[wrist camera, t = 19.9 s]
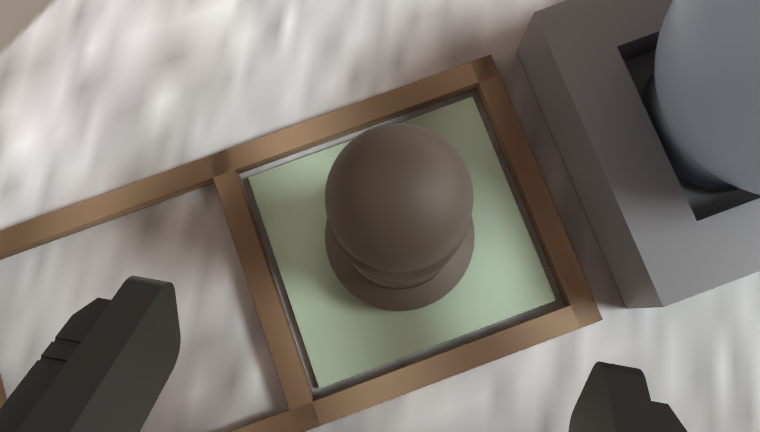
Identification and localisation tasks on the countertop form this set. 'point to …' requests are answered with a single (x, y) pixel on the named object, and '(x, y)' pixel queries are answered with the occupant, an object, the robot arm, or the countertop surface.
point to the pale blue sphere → (709, 92)
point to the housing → (632, 155)
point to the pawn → (399, 217)
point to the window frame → (316, 277)
